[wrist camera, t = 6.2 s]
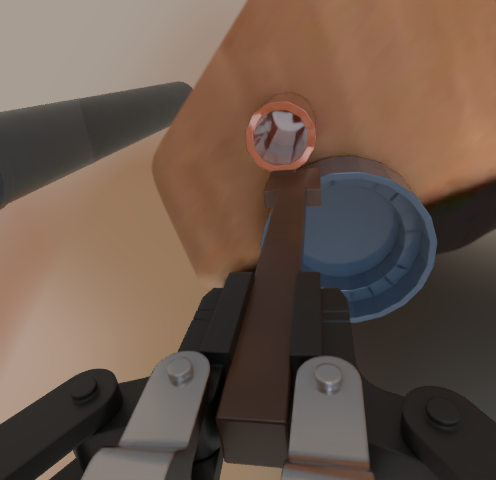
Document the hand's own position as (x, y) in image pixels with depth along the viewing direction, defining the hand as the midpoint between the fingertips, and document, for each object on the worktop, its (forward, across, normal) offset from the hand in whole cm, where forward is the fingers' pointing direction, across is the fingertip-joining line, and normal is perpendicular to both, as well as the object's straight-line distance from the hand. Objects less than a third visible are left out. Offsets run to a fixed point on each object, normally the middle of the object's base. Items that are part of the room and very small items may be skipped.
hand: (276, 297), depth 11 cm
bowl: (+26, -4, +10) cm, 28 cm away
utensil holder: (+26, +1, -1) cm, 26 cm away
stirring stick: (+13, 0, 0) cm, 13 cm away
